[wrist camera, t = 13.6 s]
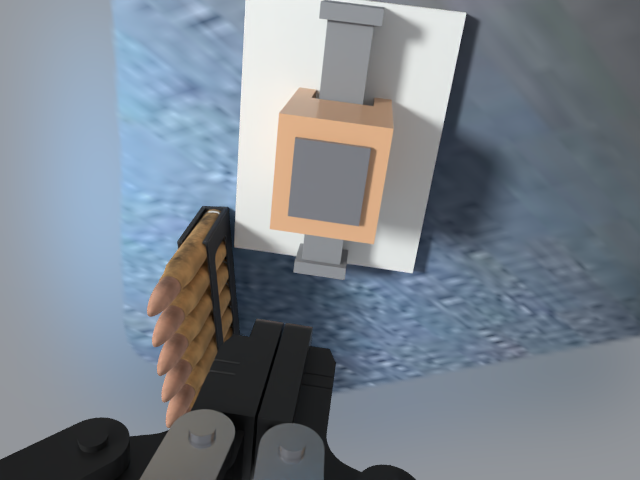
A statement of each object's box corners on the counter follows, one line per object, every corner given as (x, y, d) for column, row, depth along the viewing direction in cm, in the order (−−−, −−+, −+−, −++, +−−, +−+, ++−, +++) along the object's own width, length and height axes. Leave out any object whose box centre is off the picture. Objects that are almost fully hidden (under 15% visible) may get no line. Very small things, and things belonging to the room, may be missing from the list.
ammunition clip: (240, 339, 42) (190, 465, 31) (216, 338, 42) (158, 462, 31) (228, 206, 37) (165, 299, 26) (201, 205, 37) (127, 297, 27)
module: (391, 99, 32) (393, 130, 25) (375, 196, 35) (373, 246, 28) (299, 87, 32) (277, 114, 26) (290, 184, 35) (268, 231, 28)
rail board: (463, 12, 31) (473, 15, 27) (411, 266, 38) (414, 293, 34) (250, -15, 31) (234, -14, 28) (237, 240, 38) (223, 265, 35)
